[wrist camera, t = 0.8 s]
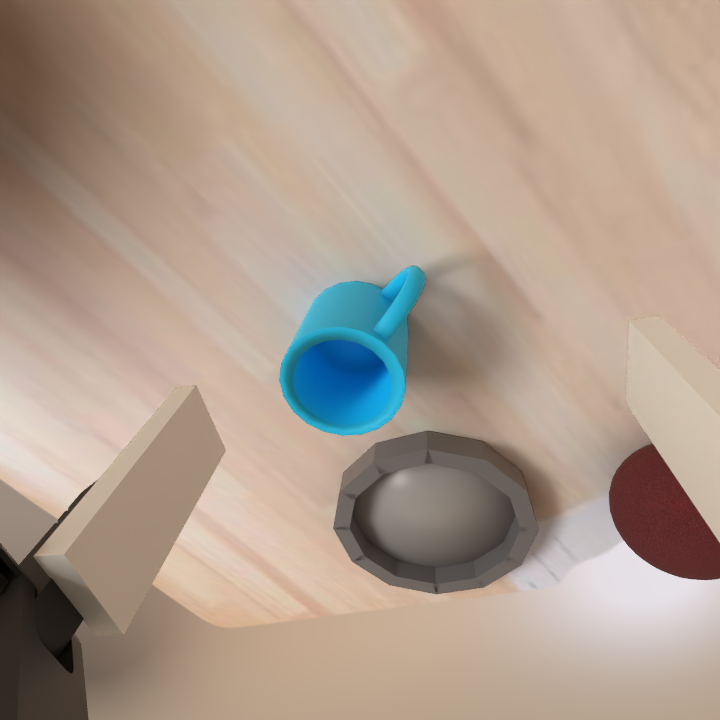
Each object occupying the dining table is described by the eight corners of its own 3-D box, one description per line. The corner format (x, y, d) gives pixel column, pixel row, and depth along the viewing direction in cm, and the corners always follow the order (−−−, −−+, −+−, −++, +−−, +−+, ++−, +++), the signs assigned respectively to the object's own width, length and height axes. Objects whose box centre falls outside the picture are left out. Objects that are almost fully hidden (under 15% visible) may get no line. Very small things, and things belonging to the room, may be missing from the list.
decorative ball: (631, 522, 44) (683, 627, 35) (568, 456, 41) (608, 553, 32) (743, 470, 40) (834, 574, 31) (682, 393, 37) (763, 484, 28)
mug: (366, 391, 40) (355, 454, 33) (286, 336, 38) (256, 390, 31) (464, 287, 35) (475, 335, 28) (376, 217, 33) (364, 249, 26)
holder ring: (329, 552, 50) (325, 572, 48) (353, 416, 41) (349, 434, 39) (497, 584, 50) (501, 606, 48) (557, 455, 41) (565, 475, 39)
